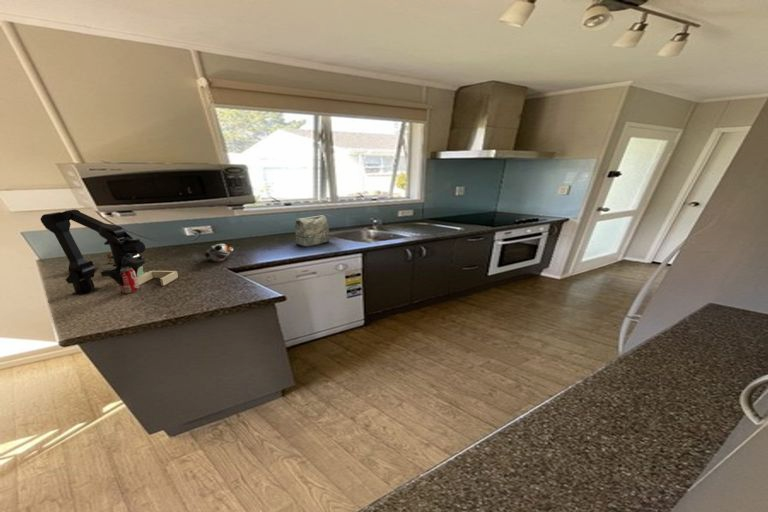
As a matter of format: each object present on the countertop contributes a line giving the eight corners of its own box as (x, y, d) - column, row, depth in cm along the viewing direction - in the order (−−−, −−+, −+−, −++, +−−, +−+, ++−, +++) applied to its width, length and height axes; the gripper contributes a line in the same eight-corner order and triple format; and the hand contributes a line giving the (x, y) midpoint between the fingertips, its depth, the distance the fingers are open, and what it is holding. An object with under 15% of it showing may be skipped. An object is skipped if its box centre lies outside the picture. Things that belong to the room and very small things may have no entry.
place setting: (69, 269, 170) (66, 260, 168) (114, 261, 183) (111, 253, 182) (68, 277, 158) (64, 267, 156) (116, 269, 172) (113, 259, 170)
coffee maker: (137, 283, 153) (133, 267, 150) (118, 282, 153) (114, 267, 150) (154, 274, 165) (150, 260, 162) (137, 274, 164) (133, 260, 162)
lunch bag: (321, 238, 248) (320, 213, 241) (332, 242, 236) (331, 216, 229) (293, 243, 231) (290, 216, 225) (304, 248, 219) (301, 220, 212)
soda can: (137, 286, 148) (132, 265, 145) (141, 290, 144) (135, 268, 140) (120, 291, 143) (113, 269, 139) (123, 295, 139) (116, 272, 135)
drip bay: (163, 285, 150) (162, 278, 149) (136, 285, 150) (134, 278, 149) (178, 277, 161) (176, 271, 160) (152, 277, 161) (150, 270, 160)
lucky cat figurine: (227, 254, 200) (232, 238, 195) (230, 265, 193) (236, 249, 188) (202, 253, 190) (207, 236, 184) (205, 264, 183) (211, 247, 177)
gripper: (119, 259, 129) (129, 291, 133) (151, 247, 146) (158, 275, 151) (95, 259, 128) (105, 290, 133) (130, 247, 146) (137, 275, 151)
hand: (128, 282), depth 142 cm, fingers closed on soda can, 7 cm apart
